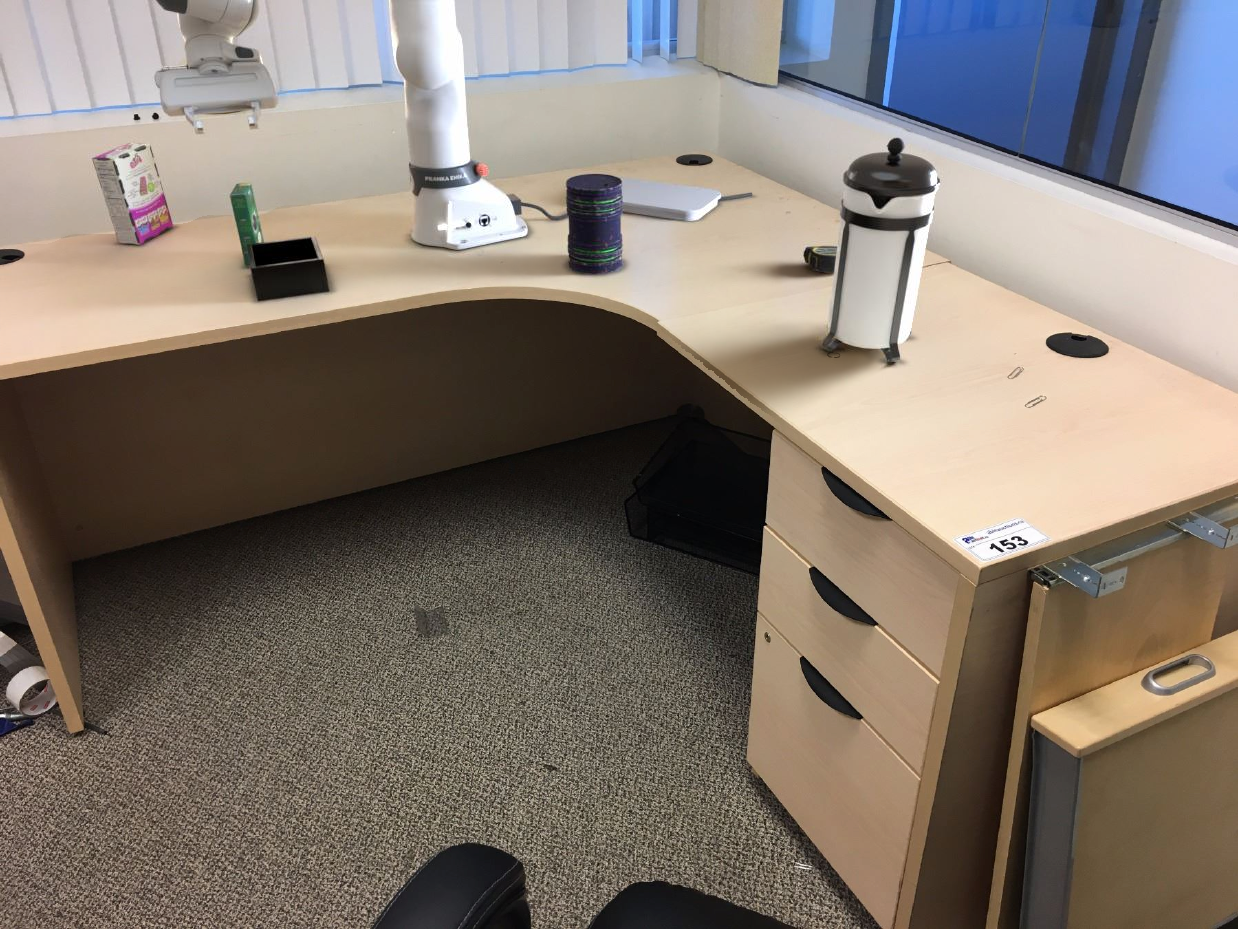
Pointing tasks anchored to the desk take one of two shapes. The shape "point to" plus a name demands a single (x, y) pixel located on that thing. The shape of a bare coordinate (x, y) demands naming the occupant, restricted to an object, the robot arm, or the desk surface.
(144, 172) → the candy bar box
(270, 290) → the desk tray
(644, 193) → the tablet
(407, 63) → the robot arm
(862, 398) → the desk surface
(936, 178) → the coffee press
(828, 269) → the tape measure
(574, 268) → the storage jar
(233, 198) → the coffee box
